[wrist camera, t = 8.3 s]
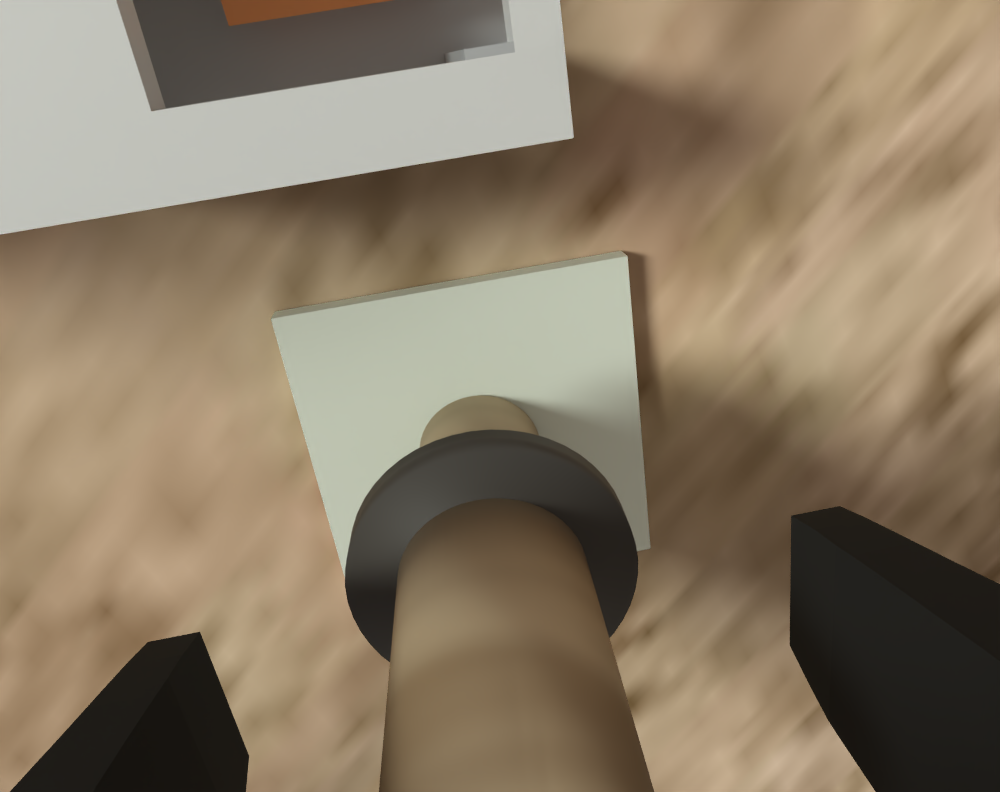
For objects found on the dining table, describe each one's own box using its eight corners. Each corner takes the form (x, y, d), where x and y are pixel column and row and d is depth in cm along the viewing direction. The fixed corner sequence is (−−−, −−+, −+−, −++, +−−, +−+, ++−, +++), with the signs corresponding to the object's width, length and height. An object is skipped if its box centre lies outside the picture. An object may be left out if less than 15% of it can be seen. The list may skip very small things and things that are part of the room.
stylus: (596, 526, 15) (803, 1144, 6) (391, 557, 15) (324, 1219, 6) (579, 331, 13) (827, 814, 5) (348, 364, 13) (180, 912, 5)
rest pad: (644, 537, 16) (650, 548, 15) (354, 593, 15) (352, 606, 15) (621, 250, 13) (627, 255, 13) (274, 311, 13) (270, 318, 13)
